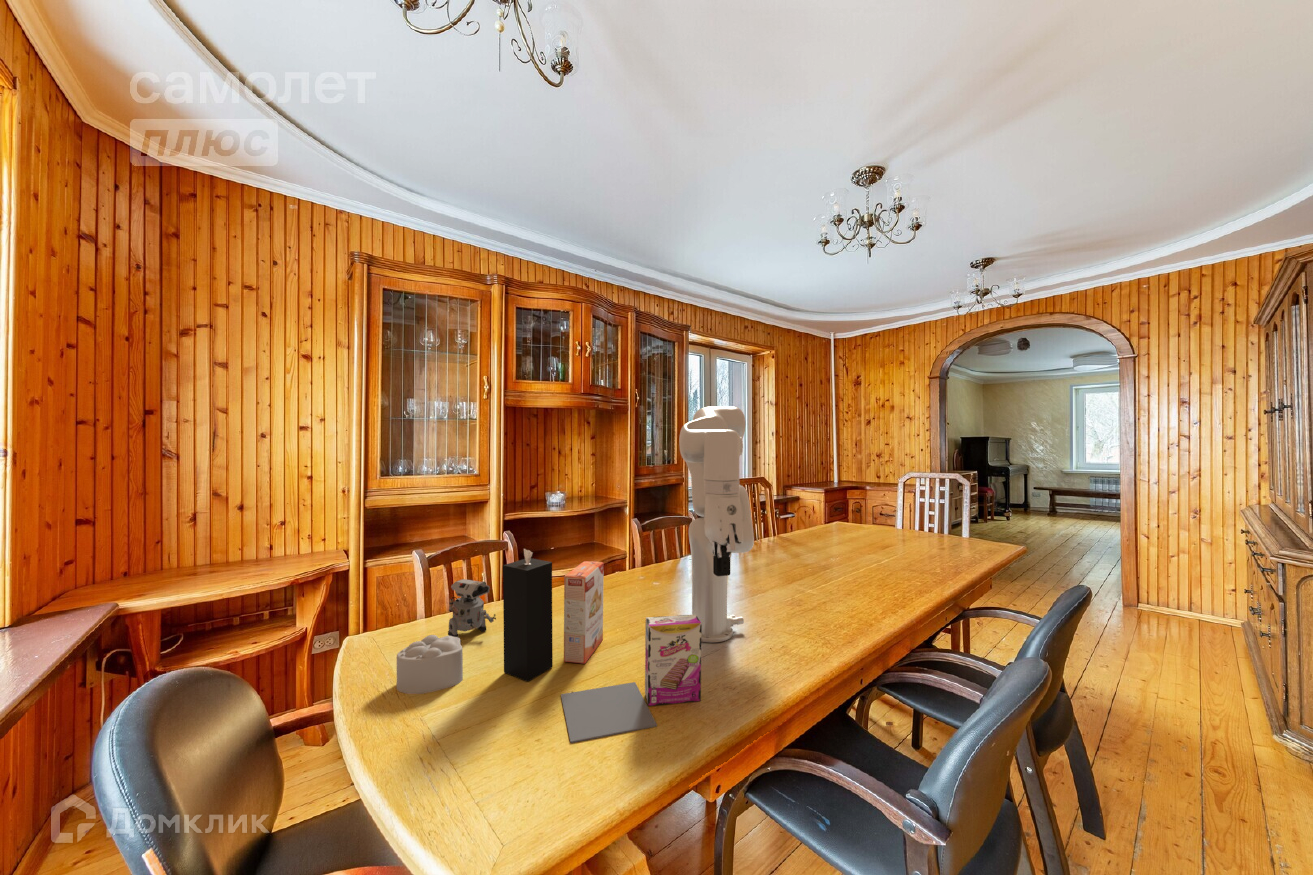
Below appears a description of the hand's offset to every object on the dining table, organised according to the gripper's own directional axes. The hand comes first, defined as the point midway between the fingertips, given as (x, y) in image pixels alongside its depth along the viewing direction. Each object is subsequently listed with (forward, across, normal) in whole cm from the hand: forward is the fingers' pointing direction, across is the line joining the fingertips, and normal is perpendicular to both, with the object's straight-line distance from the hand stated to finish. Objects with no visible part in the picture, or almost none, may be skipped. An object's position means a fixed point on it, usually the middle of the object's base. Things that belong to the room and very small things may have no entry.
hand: (721, 574), depth 101 cm
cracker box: (+25, +28, +25) cm, 45 cm away
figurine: (+25, +46, +53) cm, 74 cm away
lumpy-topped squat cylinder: (+25, +24, +60) cm, 69 cm away
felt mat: (+25, +1, +25) cm, 35 cm away
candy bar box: (+25, +1, +11) cm, 27 cm away
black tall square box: (+25, +22, +39) cm, 51 cm away
